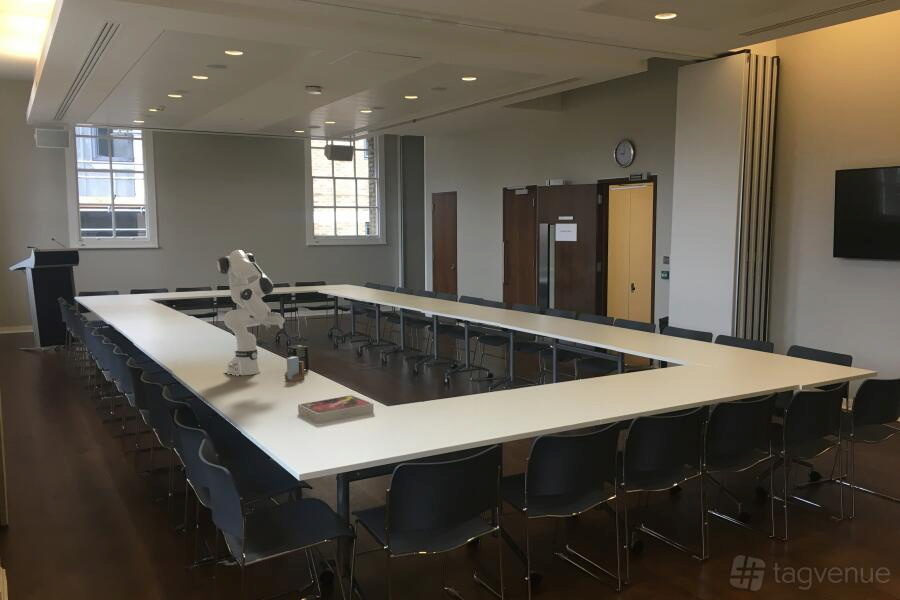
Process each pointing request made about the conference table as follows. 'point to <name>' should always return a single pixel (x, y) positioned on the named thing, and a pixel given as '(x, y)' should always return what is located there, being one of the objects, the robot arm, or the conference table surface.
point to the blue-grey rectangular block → (292, 366)
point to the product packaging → (335, 409)
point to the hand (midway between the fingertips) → (275, 327)
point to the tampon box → (299, 354)
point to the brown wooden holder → (297, 376)
